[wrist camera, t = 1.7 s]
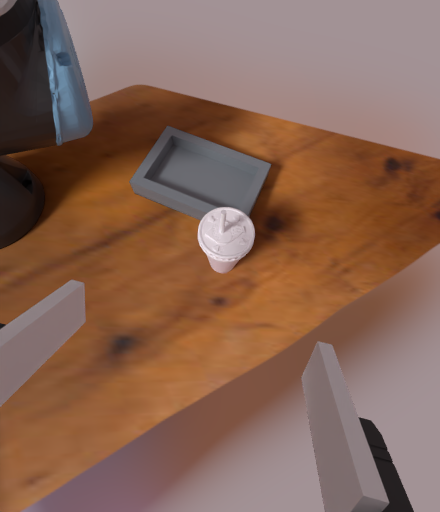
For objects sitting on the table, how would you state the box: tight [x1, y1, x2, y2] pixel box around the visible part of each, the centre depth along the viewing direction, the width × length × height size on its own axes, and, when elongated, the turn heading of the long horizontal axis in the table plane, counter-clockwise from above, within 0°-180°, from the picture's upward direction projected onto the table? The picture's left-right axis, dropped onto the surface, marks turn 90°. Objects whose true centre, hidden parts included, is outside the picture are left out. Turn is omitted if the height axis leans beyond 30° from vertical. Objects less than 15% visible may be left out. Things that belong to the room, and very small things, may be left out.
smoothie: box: [198, 207, 255, 273], centre depth 31 cm, size 6×6×14 cm
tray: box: [129, 126, 271, 220], centre depth 40 cm, size 18×12×3 cm, turn 66°
